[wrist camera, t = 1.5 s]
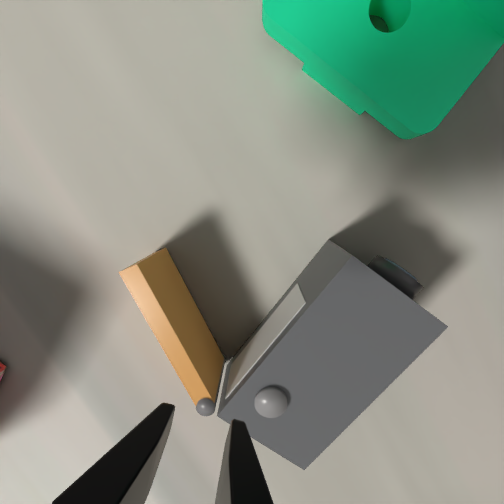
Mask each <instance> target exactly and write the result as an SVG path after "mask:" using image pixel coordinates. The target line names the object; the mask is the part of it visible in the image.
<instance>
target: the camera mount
mask: <svg viewBox="0 0 504 504" xmlns="http://www.w3.org/2000/svg"><path fill="white" fill-rule="evenodd" d="M370 15H375V16H379V17H381V18H382V19H383V20H384V21H385V22H386V24H387V26H388V30H389V33H384V32H381V31H379V30H377V29H376V28H375V27H374V26H373V25H372V23H371V21H370V18H369V16H370ZM262 21H263V26H264V28H265V30H266V32H267V33H268V34H269V35H270V36H271V37H272V38H274V39H275V40H276V41H277V42H279V43H280V44H281V45H282V46H284V47H285V48H286V49H287V50H289V51H290V52H291V53H293V54H294V55H295V56H296V57H298V58H299V59H300V60H301V61H303V62H304V65H303V68H302V70H303V71H304V72H305V73H307V74H308V75H309V76H310V77H312V78H313V79H314V80H316V81H317V82H318V83H319V84H321V85H322V86H323V87H324V88H326V89H327V90H328V91H330V92H331V93H332V94H333V95H335V96H336V97H337V98H338V99H340V100H341V101H342V102H344V103H345V104H346V105H347V106H349V107H350V108H351V109H352V110H354V111H355V112H356V113H358V114H359V115H361V114H362V113H363V112H364V111H366V112H367V113H368V114H370V115H371V116H372V117H374V118H375V119H376V120H377V121H379V122H380V123H381V124H382V125H384V126H385V127H386V128H387V129H389V130H390V131H391V132H392V133H394V134H395V135H396V136H398V137H399V138H401V139H412V138H415V137H418V136H420V135H423V134H426V133H429V132H431V131H433V130H434V129H435V128H436V127H437V126H438V125H439V124H440V123H441V121H442V120H443V119H444V118H445V116H446V115H447V114H448V113H449V111H450V110H451V109H452V108H453V106H454V105H455V104H456V103H457V101H458V100H459V99H460V98H461V96H462V95H463V94H464V92H465V91H466V90H467V89H468V87H469V86H470V85H471V84H472V82H473V81H474V80H475V79H476V77H477V76H478V75H479V74H480V72H481V71H482V70H483V69H484V67H485V66H486V65H487V64H488V62H489V61H490V60H491V59H492V57H493V56H494V55H495V53H496V52H497V51H498V50H499V48H500V47H501V46H502V45H503V43H504V0H263V4H262Z"/></svg>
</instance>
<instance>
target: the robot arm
mask: <svg viewBox="0 0 504 504" xmlns="http://www.w3.org/2000/svg"><path fill="white" fill-rule="evenodd" d="M174 411H175V406H174V405H172V404H168V403H162V404H160V405H159V406H158V407H157V408H156V409H155V410H154V411H153V412H151V413H150V414H149V415H148V416H147V417H146V418H145V419H144V420H143V421H141V422H140V423H139V424H138V425H137V426H136V427H135V428H134V429H133V430H131V431H130V432H129V433H128V434H127V435H126V436H125V437H124V438H123V439H121V440H120V441H119V442H118V443H117V444H116V445H115V446H114V447H113V448H112V449H110V450H109V451H108V452H107V453H106V454H105V455H104V456H103V457H102V458H100V459H99V460H98V461H97V462H96V463H95V464H94V465H93V466H92V467H90V468H89V469H88V470H87V471H86V472H85V473H84V474H83V475H82V476H80V477H79V478H78V479H77V480H76V481H75V482H74V483H73V484H72V485H70V486H69V487H68V488H67V489H66V490H65V491H64V492H63V493H62V494H60V495H59V496H58V497H57V498H56V499H55V500H54V501H53V502H52V504H144V503H145V501H146V499H147V496H148V494H149V491H150V488H151V486H152V483H153V480H154V477H155V474H156V471H157V468H158V465H159V462H160V459H161V456H162V453H163V451H164V448H165V445H166V442H167V439H168V436H169V433H170V429H171V425H172V420H173V416H174ZM215 504H274V503H273V500H272V498H271V495H270V492H269V489H268V486H267V483H266V480H265V478H264V475H263V472H262V469H261V466H260V463H259V460H258V458H257V455H256V452H255V449H254V446H253V443H252V440H251V438H250V435H249V432H248V429H247V426H246V423H245V422H244V421H241V420H237V419H233V420H232V421H231V424H230V428H229V431H228V435H227V439H226V443H225V448H224V453H223V459H222V465H221V471H220V477H219V482H218V488H217V494H216V500H215Z"/></svg>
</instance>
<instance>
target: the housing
mask: <svg viewBox="0 0 504 504" xmlns="http://www.w3.org/2000/svg"><path fill="white" fill-rule="evenodd" d="M423 288H424V287H423V286H422V285H421V284H420V283H418V282H417V279H416V278H415V277H414V276H412V275H411V274H410V273H408V272H407V271H406V270H404V269H403V268H401V267H400V266H398V265H397V264H395V263H394V262H392V261H390V260H389V259H387V258H385V259H384V258H382V257H380V256H378V255H377V256H376V257H375V258H374V259H373V260H372V262H371V263H370V264H369V265H368V266H366V265H365V264H364V263H362V262H361V261H360V260H358V259H357V258H356V257H354V256H353V255H351V254H350V253H348V252H347V251H345V250H344V249H342V248H341V247H339V246H338V245H336V244H335V243H333V242H332V241H330V240H329V239H328V241H327V242H326V243H325V244H324V246H323V247H322V248H321V249H320V250H319V252H318V253H317V254H316V255H315V257H314V258H313V259H312V260H311V262H310V263H309V264H308V265H307V267H306V268H305V269H304V270H303V272H302V273H301V274H300V275H299V277H298V278H297V279H296V280H295V281H294V283H293V284H292V285H291V286H290V288H289V289H288V290H287V291H286V293H285V294H284V295H283V296H282V298H281V299H280V300H279V301H278V303H277V304H276V305H275V306H274V308H273V309H272V310H271V311H270V312H269V314H268V315H267V316H266V317H265V319H264V320H263V321H262V322H261V324H260V325H259V326H258V327H257V329H256V330H255V331H254V332H253V334H252V335H251V336H250V337H249V339H248V340H247V341H246V342H245V343H244V345H243V346H242V347H241V348H240V350H239V351H238V352H237V353H236V355H235V356H234V357H233V358H232V360H231V361H230V362H229V363H228V365H227V368H226V373H225V378H224V383H223V388H222V393H221V399H220V404H219V409H218V414H217V416H218V417H219V418H221V419H223V420H224V421H226V422H227V423H229V424H231V421H232V420H233V419H237V420H241V421H244V422H245V423H246V426H247V429H248V432H249V435H250V437H252V438H253V439H255V440H256V441H258V442H260V443H261V444H263V445H265V446H266V447H268V448H269V449H271V450H273V451H274V452H276V453H277V454H279V455H281V456H282V457H284V458H286V459H287V460H289V461H290V462H292V463H294V464H295V465H297V466H298V467H300V468H302V469H303V470H305V469H306V468H307V467H308V466H309V465H310V464H311V463H312V462H313V461H314V460H315V459H316V458H317V457H318V456H319V455H320V454H321V453H322V452H323V451H324V450H325V449H326V448H327V447H328V446H329V445H330V444H331V443H332V442H333V441H334V440H335V439H336V438H337V437H338V436H339V435H340V434H341V433H342V432H343V431H344V430H345V429H346V428H347V427H348V426H349V425H350V424H351V423H352V422H353V421H354V420H355V419H356V418H357V417H358V416H359V415H360V414H361V413H362V412H363V411H364V410H365V409H366V408H367V407H368V406H369V405H370V404H371V403H372V402H373V401H374V400H375V399H376V398H377V397H378V396H379V395H380V394H381V393H382V392H383V391H384V390H385V389H386V388H387V387H388V386H389V385H390V384H391V383H392V382H393V381H394V380H395V379H396V378H397V377H398V376H399V375H400V374H401V373H402V372H403V371H404V370H405V369H406V368H407V367H408V366H409V365H410V364H411V363H412V362H413V361H414V360H415V359H416V358H417V357H418V356H419V355H420V354H421V353H422V352H423V351H424V350H425V349H426V348H427V347H428V346H429V345H430V344H431V343H432V342H433V341H434V340H435V339H436V338H437V337H438V336H439V335H440V334H441V333H442V332H443V331H444V330H445V329H446V328H447V327H448V326H447V325H445V324H444V323H443V322H441V321H440V320H439V319H437V318H436V317H435V316H433V315H432V314H431V313H429V312H428V311H427V310H425V309H424V308H423V307H421V306H420V305H419V304H417V303H416V302H415V301H413V300H412V299H413V298H414V297H415V296H416V295H417V294H418V293H419V292H420V291H421V290H422V289H423Z"/></svg>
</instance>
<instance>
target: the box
mask: <svg viewBox="0 0 504 504" xmlns="http://www.w3.org/2000/svg"><path fill="white" fill-rule="evenodd" d="M6 368H7V367H6V366H5V365H4V364H2V363H1V362H0V381H1V379H2V376H3V374H4V372H5V370H6Z"/></svg>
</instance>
